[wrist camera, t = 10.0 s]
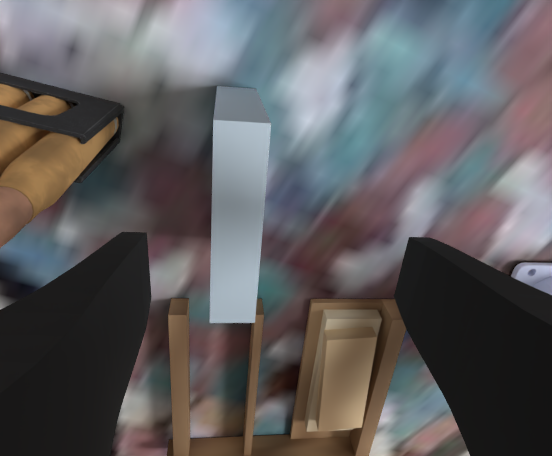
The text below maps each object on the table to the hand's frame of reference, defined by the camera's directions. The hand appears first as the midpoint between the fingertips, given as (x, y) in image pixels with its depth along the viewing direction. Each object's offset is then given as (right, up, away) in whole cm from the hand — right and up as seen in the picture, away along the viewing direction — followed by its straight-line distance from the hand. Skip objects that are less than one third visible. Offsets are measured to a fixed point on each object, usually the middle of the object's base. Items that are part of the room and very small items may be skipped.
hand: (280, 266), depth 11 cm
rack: (0, -9, +16) cm, 18 cm away
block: (-2, +4, +9) cm, 10 cm away
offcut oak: (+4, -9, +15) cm, 18 cm away
